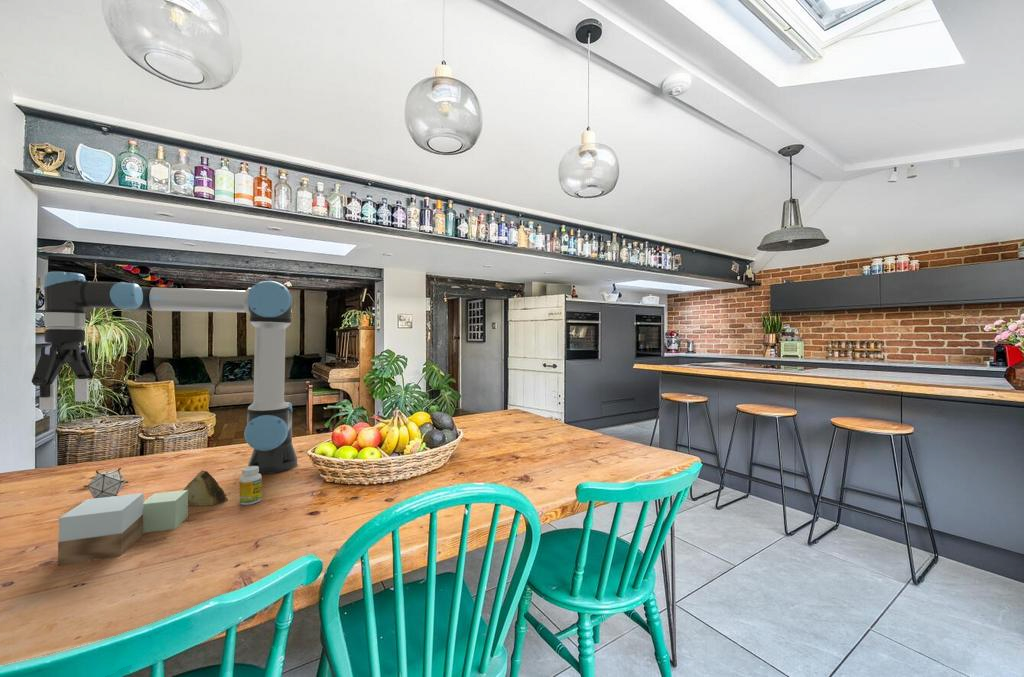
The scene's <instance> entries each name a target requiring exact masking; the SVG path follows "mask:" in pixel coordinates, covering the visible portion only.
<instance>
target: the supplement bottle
mask: <svg viewBox="0 0 1024 677" xmlns="http://www.w3.org/2000/svg"><path fill="white" fill-rule="evenodd" d="M258 472H259V467H258V466H249V467H248V466H246V467H243V468H242V470H241V474H242V475H241V476H240V477H239V479H238V480H239V481H238V484H239V487H238V488H239V494H238V495H239V497H238V498H239V501H238V502H239V504H240V505H242V506H249V505H254V504H256V503H259V502H261V500H262V491H263V490H262V488H263V487H262V485H263V484H262V482H263V481H262V480H263V478H262V474H259V473H258Z"/></svg>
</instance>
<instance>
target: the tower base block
mask: <svg viewBox="0 0 1024 677" xmlns="http://www.w3.org/2000/svg"><path fill="white" fill-rule="evenodd" d="M143 534H144V533H143V515H142V516H140V517H139V518H138V519H137V520H136V521H135V522H134V523H133V524H132V525H131V526H129V527H128V528H127V529H126V530H125V531H124V532H123V533H120V534H113V535H106V536H99V537H92V538H85V539H77V540H70V541H63V542H59V541H58V542H57V555H58V556H57V566H63V565H64V566H65V565H68V564H69V565H70V564H75V562H77V563H82V561H83V562H88V560H90V561H94V560H95V559H96V560H102V559H108V558H114V557H121V556H122V555H124V554H125V552H127V550H128V549H130V547H132V546H133V544H135V542H137V541H138V540H139V539H140V538H141V537H142V536H143ZM96 560H95V561H96Z"/></svg>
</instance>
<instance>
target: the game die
mask: <svg viewBox="0 0 1024 677" xmlns="http://www.w3.org/2000/svg"><path fill="white" fill-rule="evenodd" d="M120 470H122V468H121V467H119V468H118V469H117V470H109V471H101V472H99V470H95V473H96V474H95V476H94V477H93V478H92V479H91V481H90V482H89V483H88V484H87V485H83V488H87V489H88V490H89V492H90V494H91V495H92V497H93V499H94V498H103V497H112V496H119V495H118V494H119V492H120V491H121V489H123V487H124V486H125V484H128V483H129V481H127V480H125V478H124V477H123V475H122V473H121V472H120Z"/></svg>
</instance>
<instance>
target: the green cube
mask: <svg viewBox="0 0 1024 677" xmlns="http://www.w3.org/2000/svg"><path fill="white" fill-rule="evenodd" d="M188 517H189V505H188V490H184V489H182V490H175V491H174V490H173V491H165V492H154V493H153V494H151V495H150V496H149V497H148V498H146V499H145V500H143V534H144V533H152V532H160V531H161V532H162V531H169V530H175V529H177V528H178V527H180V525H181V524H182V523H183V522H184V521H185V520H186V519H187V518H188Z"/></svg>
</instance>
